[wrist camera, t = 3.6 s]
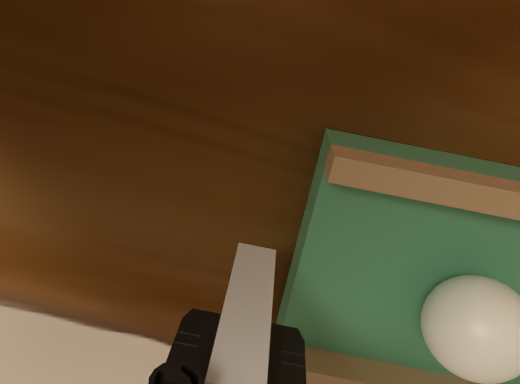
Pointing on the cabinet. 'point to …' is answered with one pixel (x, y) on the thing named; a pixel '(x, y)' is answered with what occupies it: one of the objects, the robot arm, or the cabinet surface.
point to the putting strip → (392, 254)
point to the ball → (474, 328)
